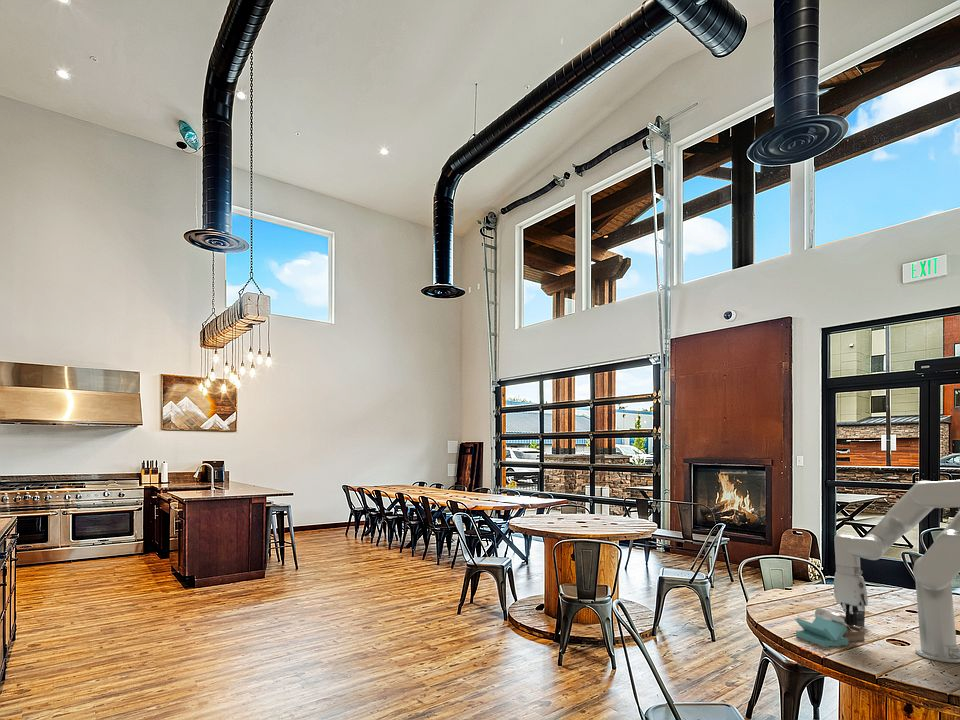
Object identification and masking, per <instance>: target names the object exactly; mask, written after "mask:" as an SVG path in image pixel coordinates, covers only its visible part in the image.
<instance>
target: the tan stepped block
mask: <svg viewBox="0 0 960 720" xmlns="http://www.w3.org/2000/svg"><path fill="white" fill-rule="evenodd" d="M862 628H863V627H860V626H854V625H853V626H852V628H851V629H850V630H848V629H847V630H846V631H845V633H844V634H843V636H842V637H844V638H847V639H848V643H850V642H858V641H857V640H860V641H865V631H864V630H863V629H862Z"/></svg>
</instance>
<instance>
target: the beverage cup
mask: <svg viewBox="0 0 960 720" xmlns="http://www.w3.org/2000/svg"><path fill="white" fill-rule="evenodd" d="M865 614H866V610H865V611H859V612H858V614H856V615H857V625H855V626H857V627H860V626H863V627H865V618H866V617H865V616H866V615H865Z"/></svg>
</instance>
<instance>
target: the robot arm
mask: <svg viewBox="0 0 960 720" xmlns="http://www.w3.org/2000/svg"><path fill="white" fill-rule="evenodd" d="M943 508H944V509H946V508H948V509H949V508H960V479H956V480H955V479H954V480H953V479H952V480H941V481H940V480H938V481H931V480H924V479H923V480H920V481H917V482H916V483H914V485H912V487H910V488H909V489H908V490H907V491H906V493H905V494H903V496H901V498H900V499H899V500H898V501H896V502H895V503H894V504H893V506H892V507H890V508H889V510H887V512H886V514H885V515H884V516H883V518H882V519H881V520H880V521H879V522H878V523H877V524H876V525H875V526H874V527H873V528H872V529H871V530H870V531H869V532H868V533H866V535H865V536H864V537H857V536H856V535H853V534H848V533H839V534H836V535H835V536H833V537H834V539H833V541H834V542H833V543H834V554H835V556H834V557H835V573H834V579H833V594H834V595H833V596H834V600H836V601H835V602H836V603H837V605H839V606H841V608H842V609H843V612H844V613H845V614H844V615H845V616H846V624H847V625H850V626H853V625H857V615H856V614H858V612H859V611H865V612H866V606H869V605H868V603H869V601H868V600H869V599H868V591H867V585H866V582H865V579H864V577H863V576H862V575H863V570H861V568H862V567H861V558H862V559H865V560H870V561H878V560H880V559H881V558H882V557H883V556H884V554H885V553H886V552H887V551H888V550H889V549H891V547H892V546H893V545H894V544H895V543H896V542H897V541H898V540H899V539H900V538H901V537H903V536H904V535H905V534H907V533H909V532H910V531H911V530H913V529H914V528H915V527H916V526H917V525H919V523H920V522H921V521H922V520H923V519H924V518H925V517H926V516H928V515H929V513H930V512H932V511H933V510H934V509H943ZM959 573H960V509H959V511H957V513H956V514H955V516H954V517H953V519H952V520H951V521H950V522H949V523H948V525H947V526H946V527H945V528H944V529H943V530H942V531H941V532H939V534H938V535H937V536H936V537H935V539H934V542H933V543H932V544H931V545H930V546H929V547H928V549H927V550H926V551H925V553H924V554H923V555H922V556H920V557H918V558H917V559H915V562H914V564H913V568H912V574H913V578H914V579H915V593H916V606H917V616H918V617H917V618H918V629H919V630H918V631H919V639H920V641H919V642H920V645H919V646H916V647H915V649H914V650H915V651H914V652H915V653H916V654H917V655H919V656H921V657H923V658H925V659H929V660H933V661H937V662H943V663H950V664H951V663H952V664H953V663H954V664H956V663H957V664H958V663H960V645H958V644H957V642H958V641H957V632H956V631H957V630H956V623H955V622H956V621H955V614H954V613H955V611H954V610H955V609H954V600H953V599H954V598H953V590H952V581H953V580H954V579H956V577H957V576H958V575H959Z"/></svg>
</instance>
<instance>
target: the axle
mask: <svg viewBox="0 0 960 720" xmlns="http://www.w3.org/2000/svg"><path fill="white" fill-rule="evenodd" d="M814 617H815V618H816V617H820V618H823V619H826V620H829V621H832V622H834V623H837V624H840V625H843V626H845V627H846V628H847V629H848V630H850V629H851V628H852V626H850V625H847V624H846V615H845V614H844V615H843V614H840V613H836V612H834V611H831V610H828V609H825V608H822V607H817V608H816V609H815V612H814Z"/></svg>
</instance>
